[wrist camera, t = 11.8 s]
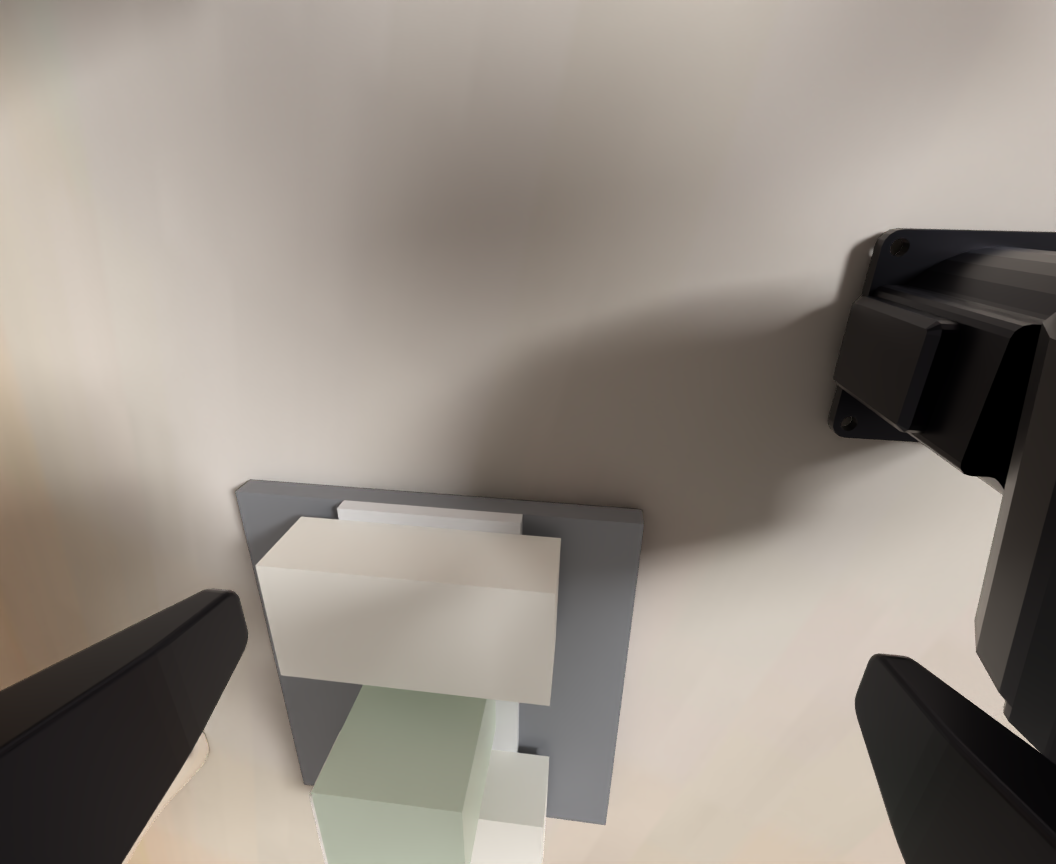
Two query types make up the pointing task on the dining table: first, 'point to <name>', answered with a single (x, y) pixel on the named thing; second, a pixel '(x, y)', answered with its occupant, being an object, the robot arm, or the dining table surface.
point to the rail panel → (575, 641)
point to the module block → (405, 778)
